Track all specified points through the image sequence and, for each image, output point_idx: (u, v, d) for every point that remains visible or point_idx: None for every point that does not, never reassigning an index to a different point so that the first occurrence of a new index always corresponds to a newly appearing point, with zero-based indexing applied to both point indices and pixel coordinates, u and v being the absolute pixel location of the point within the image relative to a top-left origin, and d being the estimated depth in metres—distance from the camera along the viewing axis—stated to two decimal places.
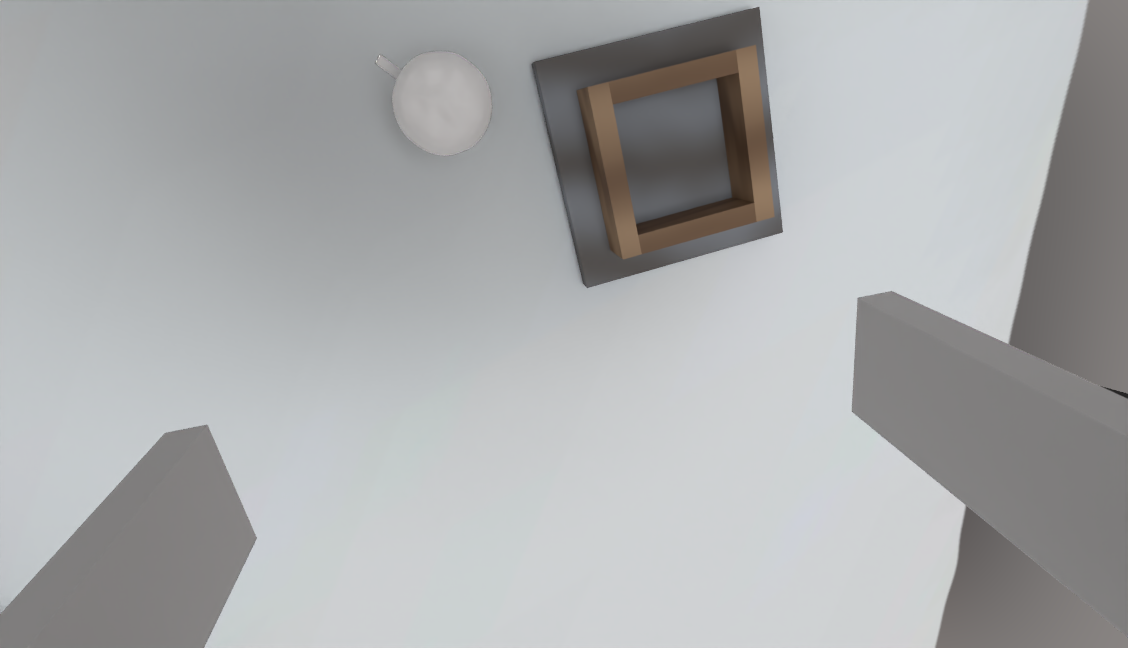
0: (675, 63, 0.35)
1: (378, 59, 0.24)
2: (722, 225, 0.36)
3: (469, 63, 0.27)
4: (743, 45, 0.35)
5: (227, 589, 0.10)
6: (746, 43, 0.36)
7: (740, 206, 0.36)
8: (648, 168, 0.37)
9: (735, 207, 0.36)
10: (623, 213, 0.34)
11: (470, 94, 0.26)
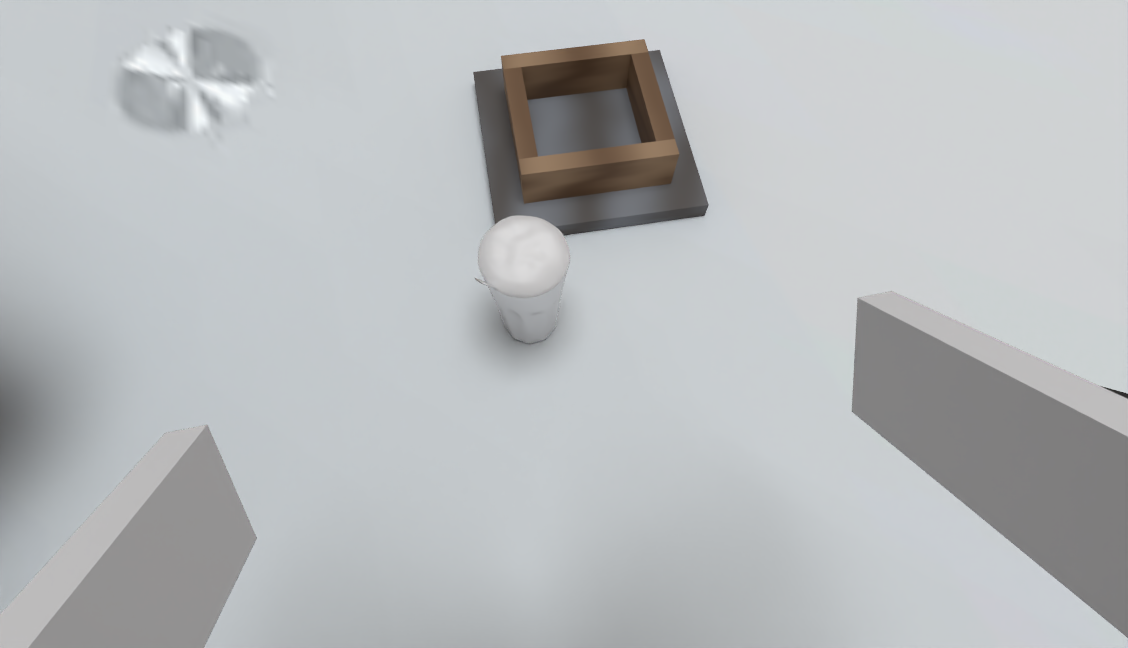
0: (509, 129, 0.41)
1: (479, 280, 0.26)
2: (650, 76, 0.39)
3: None
4: (500, 81, 0.42)
5: (227, 589, 0.10)
6: (499, 79, 0.42)
7: (633, 64, 0.39)
8: None
9: (634, 68, 0.39)
10: (635, 152, 0.36)
11: (517, 222, 0.29)
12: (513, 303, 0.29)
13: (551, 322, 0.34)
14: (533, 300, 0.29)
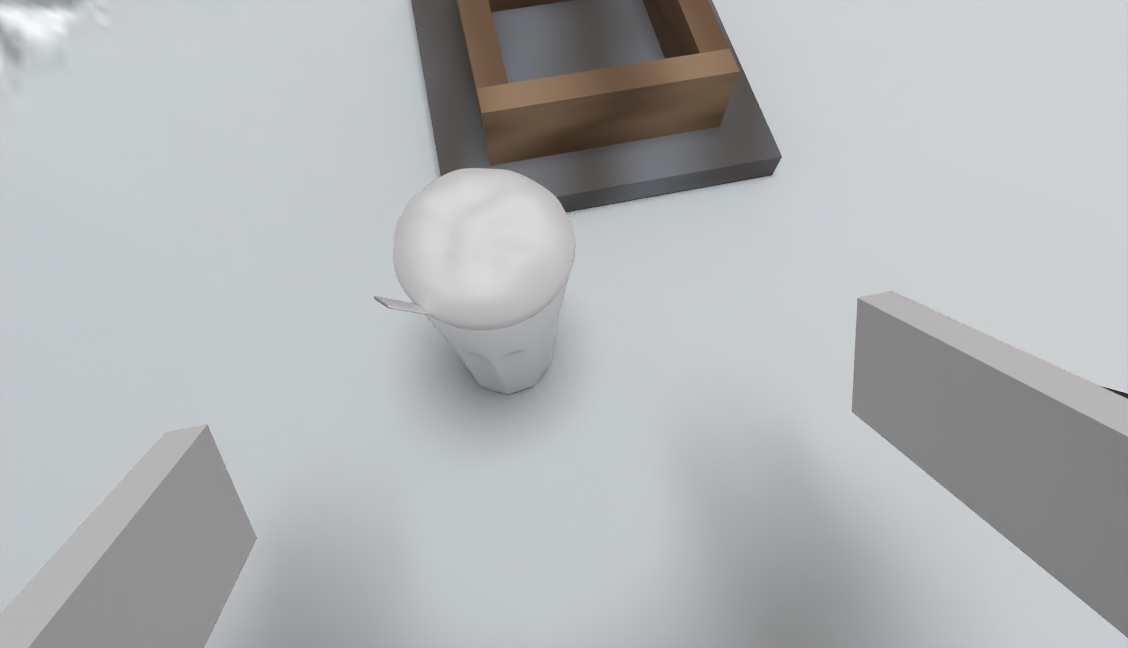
0: (464, 54, 0.26)
1: (383, 301, 0.12)
2: None
3: None
4: None
5: (227, 589, 0.10)
6: None
7: None
8: None
9: None
10: (667, 70, 0.22)
11: (467, 179, 0.14)
12: (468, 339, 0.15)
13: (543, 360, 0.20)
14: (507, 332, 0.15)
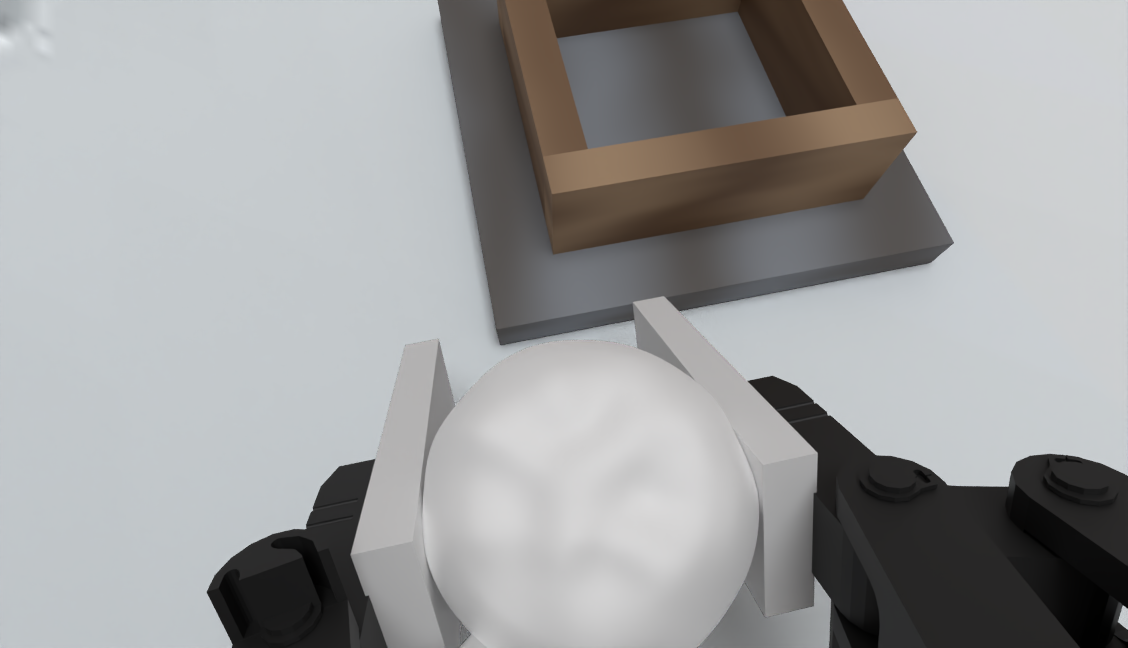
0: (513, 97, 0.20)
1: None
2: None
3: (466, 394, 0.08)
4: (491, 7, 0.22)
5: None
6: (488, 3, 0.22)
7: None
8: None
9: None
10: (813, 130, 0.16)
11: (559, 385, 0.08)
12: None
13: None
14: None
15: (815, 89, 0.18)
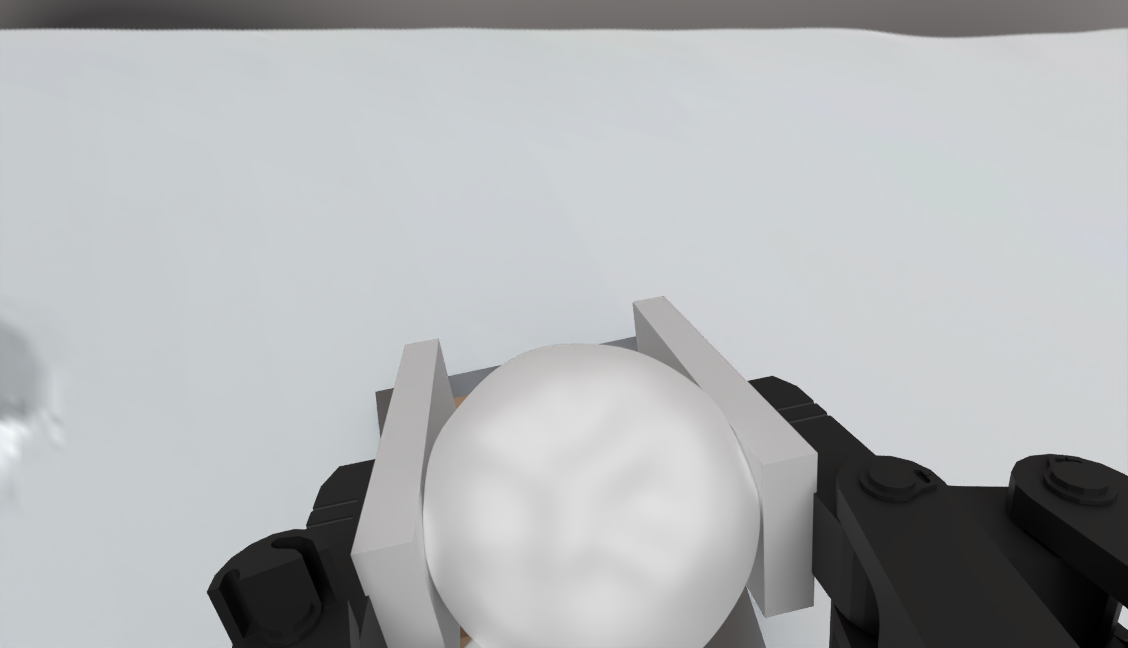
0: None
1: None
2: None
3: (467, 398, 0.08)
4: None
5: None
6: None
7: None
8: None
9: None
10: None
11: (560, 389, 0.08)
12: None
13: None
14: None
15: None
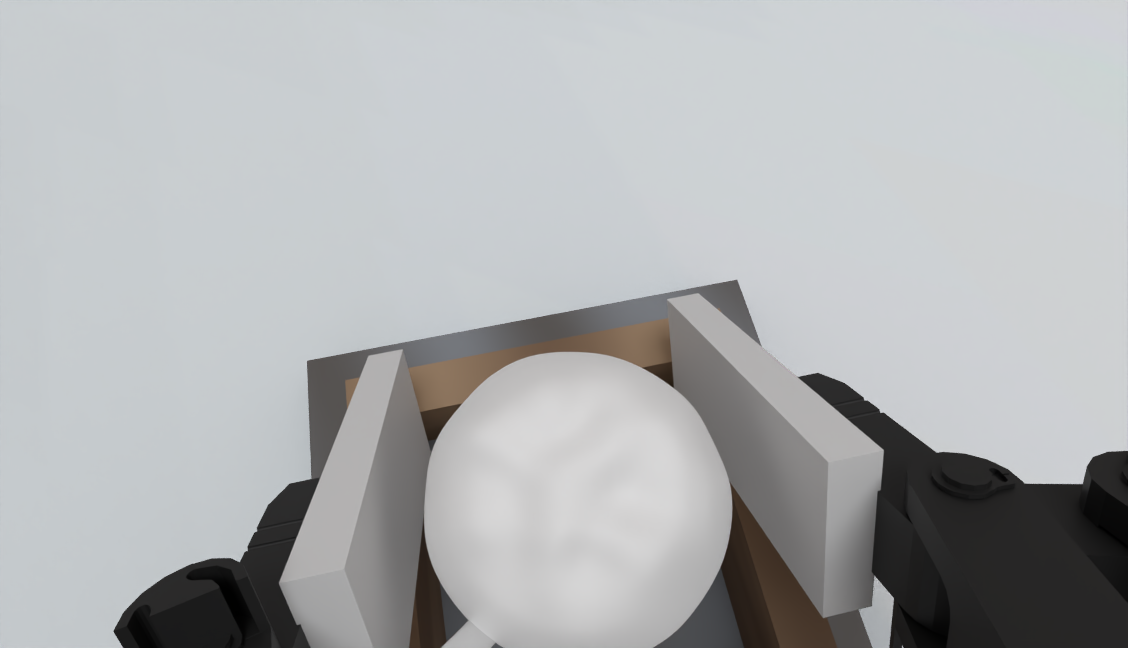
0: None
1: None
2: None
3: (465, 402, 0.09)
4: None
5: (425, 484, 0.12)
6: None
7: None
8: None
9: None
10: None
11: (550, 392, 0.08)
12: None
13: None
14: None
15: (749, 596, 0.14)
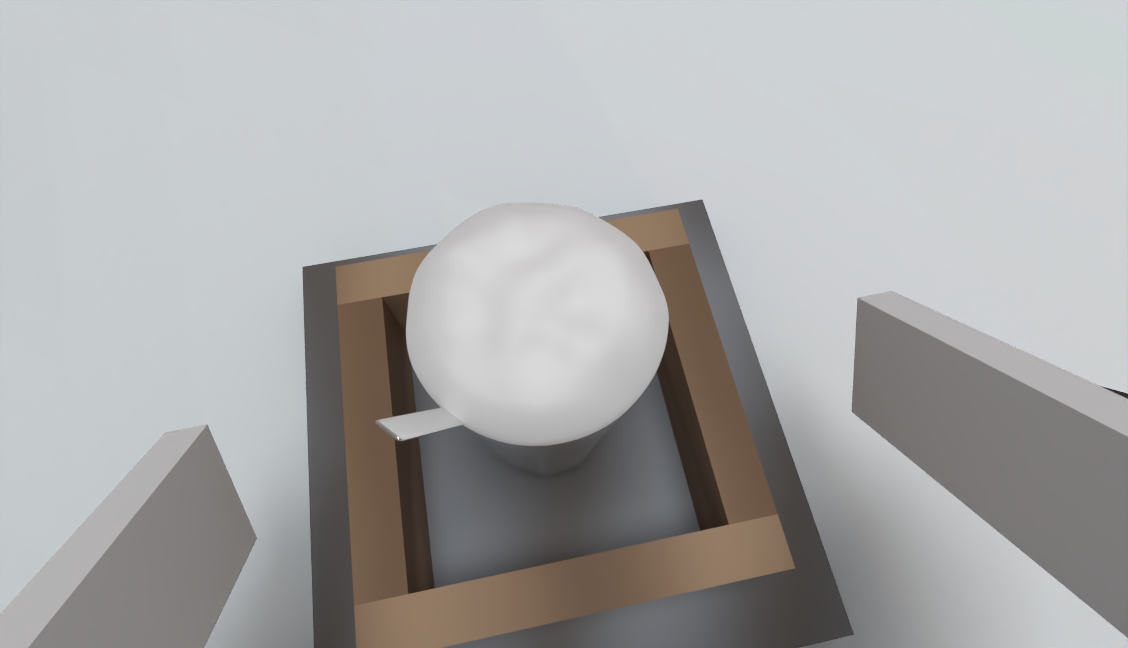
0: None
1: (390, 428, 0.07)
2: (698, 315, 0.16)
3: (443, 239, 0.11)
4: None
5: (227, 589, 0.10)
6: None
7: None
8: (572, 474, 0.17)
9: None
10: (675, 565, 0.13)
11: (515, 222, 0.10)
12: (511, 447, 0.10)
13: None
14: (568, 444, 0.10)
15: (696, 458, 0.15)
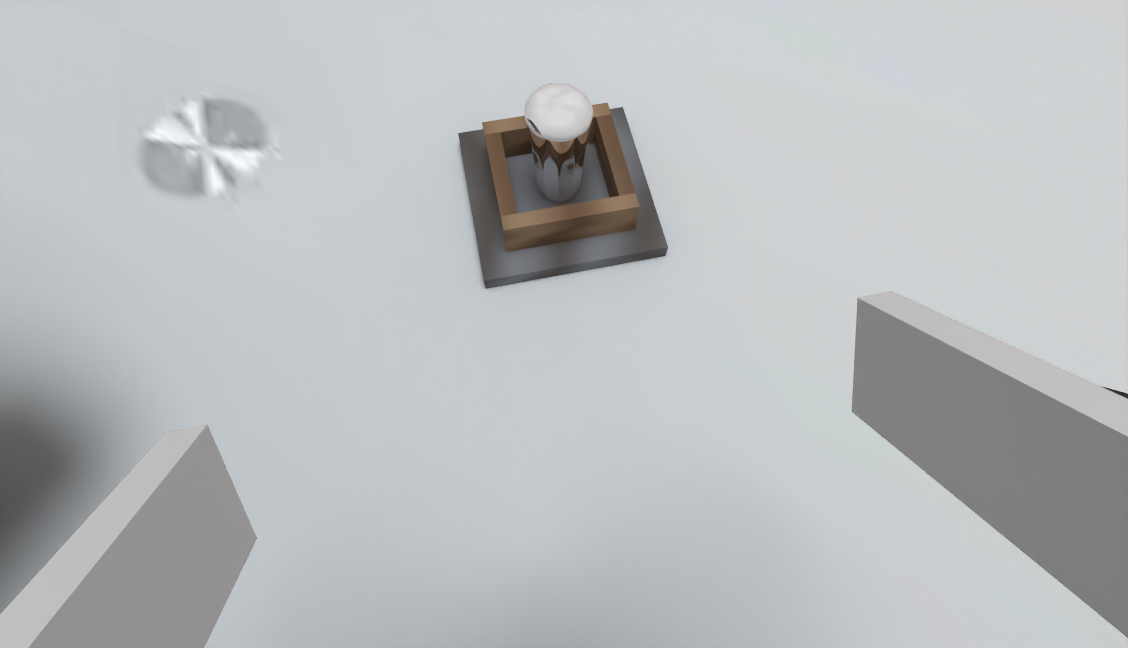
0: (492, 184, 0.46)
1: (530, 119, 0.36)
2: (613, 137, 0.44)
3: None
4: (483, 141, 0.48)
5: (227, 589, 0.10)
6: (481, 139, 0.48)
7: (598, 126, 0.45)
8: (568, 201, 0.46)
9: (599, 129, 0.45)
10: (601, 206, 0.42)
11: (553, 85, 0.38)
12: (552, 148, 0.39)
13: (576, 179, 0.44)
14: (567, 143, 0.39)
15: (612, 186, 0.44)
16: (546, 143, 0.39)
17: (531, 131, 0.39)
